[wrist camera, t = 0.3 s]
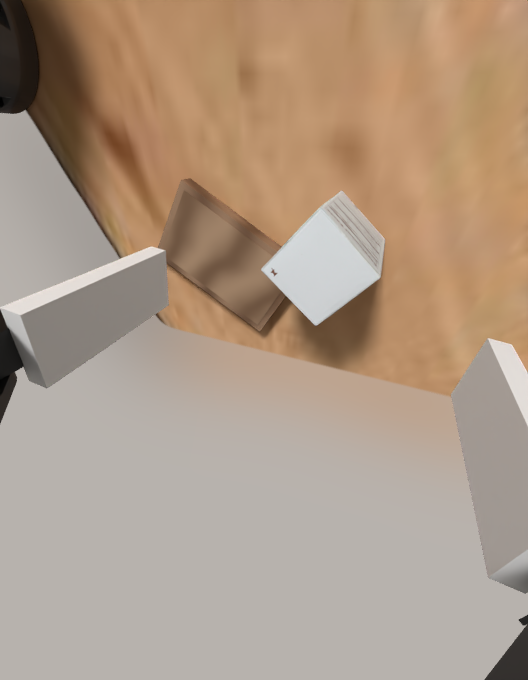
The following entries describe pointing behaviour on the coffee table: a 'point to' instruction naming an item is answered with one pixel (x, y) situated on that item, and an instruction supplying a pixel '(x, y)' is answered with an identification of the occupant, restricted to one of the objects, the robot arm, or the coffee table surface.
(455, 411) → the robot arm
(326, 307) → the supplement box
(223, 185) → the coffee table surface
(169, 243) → the walnut board
